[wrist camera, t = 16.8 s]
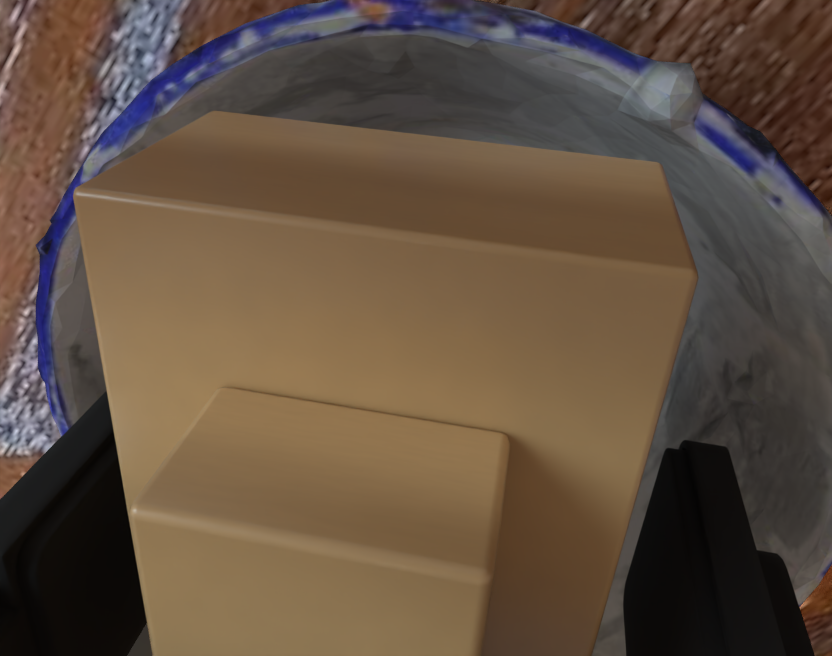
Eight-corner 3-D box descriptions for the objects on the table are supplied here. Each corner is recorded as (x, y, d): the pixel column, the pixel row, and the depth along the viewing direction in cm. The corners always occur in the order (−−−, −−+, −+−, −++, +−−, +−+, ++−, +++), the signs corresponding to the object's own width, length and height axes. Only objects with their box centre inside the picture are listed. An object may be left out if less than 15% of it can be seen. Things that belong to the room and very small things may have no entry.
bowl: (157, -95, 13) (-46, -94, 9) (937, 50, 12) (1137, 132, 8) (170, 475, 19) (60, 631, 15) (668, 600, 18) (696, 804, 14)
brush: (263, 78, 9) (-91, 275, 4) (650, 121, 8) (748, 402, 4) (284, 667, 14) (142, 1039, 10) (518, 717, 14) (489, 1137, 9)
